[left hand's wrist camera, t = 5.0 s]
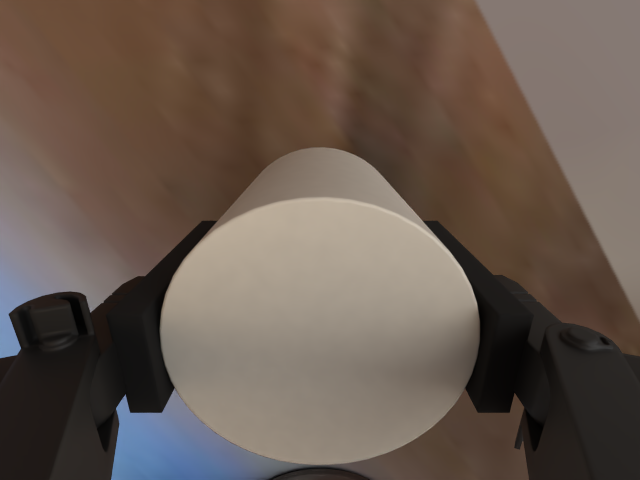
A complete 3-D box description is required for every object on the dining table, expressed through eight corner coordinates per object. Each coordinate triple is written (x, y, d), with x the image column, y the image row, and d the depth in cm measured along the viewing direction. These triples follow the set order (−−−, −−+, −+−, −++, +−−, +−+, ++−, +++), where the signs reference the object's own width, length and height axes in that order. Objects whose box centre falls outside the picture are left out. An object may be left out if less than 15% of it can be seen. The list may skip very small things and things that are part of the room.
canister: (378, 306, 18) (430, 481, 10) (235, 284, 18) (157, 448, 9) (416, 162, 16) (532, 229, 7) (249, 133, 15) (159, 167, 7)
